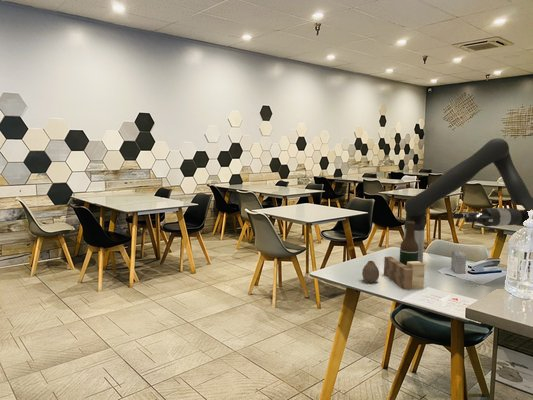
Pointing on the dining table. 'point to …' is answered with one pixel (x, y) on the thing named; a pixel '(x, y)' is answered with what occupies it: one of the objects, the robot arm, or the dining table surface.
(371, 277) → the vase
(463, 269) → the medicine box
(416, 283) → the maple block
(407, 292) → the dining table surface
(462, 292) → the dining table surface
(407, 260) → the beer bottle
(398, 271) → the walnut board
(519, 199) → the robot arm
